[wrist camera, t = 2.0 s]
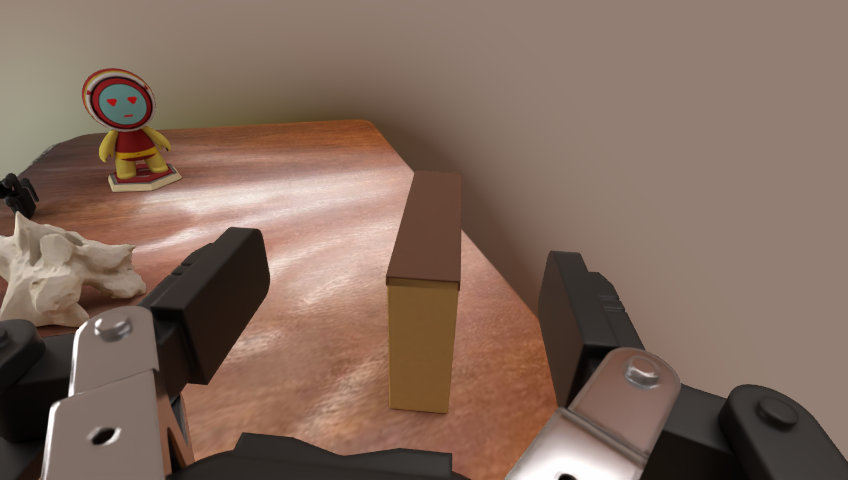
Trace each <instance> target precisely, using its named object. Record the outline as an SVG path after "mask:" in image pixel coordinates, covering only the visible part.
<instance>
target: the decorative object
mask: <svg viewBox="0 0 848 480" xmlns="http://www.w3.org/2000/svg"><path fill="white" fill-rule="evenodd" d="M135 247H136V246H135V245H128V244H124V245H111V246H110V245H105V244H102V243H100V242H97V241H93V240H86V239H85V238H83V237H82V236H80V235H79V234H78V233H77V232H68V231H65V230H63V229H62V228H59V227H53V226H51V225H47V224H45V225H40V224H37V223H35V222H32V221H30V220H28V219H27V218H25V217H24V216H23V215H22V214H21V213H20V212H19V211H17V212H16V217H15V232H14V236H11V237H4V236H0V276H2V277H3V278H4V279H5V280H6V281H7V282H8V283H9V285H8V289H7V293H6V295H5V298H4V300H3V303H2V307H1V310H0V321H5V320H11V319H24V320H28V321H31V322H32V323H33V324H34V325H35V326H43V325H51V324H57V325H62V326H68V327H81V326H82V325H83V324H84V323H85V322H87V321H88V320H89V315H88V314H87V313H86V311H85V310H84V309H83V308H82V307H81V306H80V305H79V304H78V303H77V302H78V301H79V298H80V294H81V291H82V290H81V286H87V285H89V286H92V287H95V288H96V289H97V290H98V291H100V292H101V294H102V295H103V294H104V295H106V296H110V297H111V298H131V297H132V296H134V295H135V294H138V295H142V294H145V293H146V284H145V283H144V282H143V281H142V280H141V276H140V275H138V274H137V273H135V272H134V267H133V265H132V264H131V262H132V260H131V258H132V251H133V249H134V248H135Z"/></svg>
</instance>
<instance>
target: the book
mask: <svg viewBox="0 0 848 480" xmlns="http://www.w3.org/2000/svg"><path fill="white" fill-rule="evenodd" d="M461 213H462V173H448V172H432V171H415V174H414V177H413V181H412V184H411V188H410V191H409V195H408V199H407V202H406V206H405V209H404V213H403V217H402V220H401V224H400V227H399V231H398V235H397V238H396V242H395V245H394V249H393V252H392V256H391V260H390V263H389V267H388V270H387V274H386V286H387V308H388V362H389V407H390V408H393V409H404V410H415V411H426V412H437V413H448V406H449V395H450V384H451V372H452V361H453V350H454V338H455V327H456V315H457V304H458V293H459V290H460V278H461V215H462V214H461Z"/></svg>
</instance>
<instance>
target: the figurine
mask: <svg viewBox="0 0 848 480" xmlns="http://www.w3.org/2000/svg"><path fill="white" fill-rule="evenodd" d="M82 98H83V103H84V106H85V108H86V109H87V111H88V113H89V114H90V115H91V116H92V117H93V118H94V119H95V120H96V121H97V122H98V123H100V124H102V125H103V126H105V127H107V128H110V129H112V130H111V131H110V132H109V133H108V134H107V135H106V137H105V138H104V140H103V142H102V144H101V146H100V149H99V156H100V158H101V160H102V161H103V162H107V159H106V158H107V156H108V155H110V157H114V154H113V151H114V146H115V160H116V170H117V172H115V173H113V174H110V175H109V178H108V181H109V184H110V186H111V189H112V191H113V192H125V191H153V190H155V189H157V188H160V187H162V186H165V185H167V184H169V183H172V182H174V181H177V180H179V179H181V178H182V177H181V175H180V174H179V173H178V172H177V170H176V169H175V168H174V167H173V166H172V165H171V164H167V163H165V161H164V159H163V158H162V156H161V154H160V152H159V151H158V149H157V148H156V146H155V145H154V143H153V142H152V140H153V141H154V142H155V143H156V144H157V146H158V147H159V149H161V150H162V146H163V147H165V148H166V150H167V151H168V152H170V151H171V146H170V143H169V142H168V140H167V139H166V138H165V137H163V136H162V135H161V134H160V133H158V132H157V131H155V130H154V129H152V128H150V127H148V126H146V125H147V124H148V123H149V122H150V121H151V120H152V118H153V116H154V114H155V108H156V103H155V98H154V95H153V93H152V91H151V89H150V87H149V86H148V85H147V84H146V83H145V82H144V81H143V80H142V79H141V78H139V77H138V76H137V75H135V74H133V73H131V72H129V71H126V70H122V69H115V68H110V69H103V70H100V71H97V72H95V73H93V74H92V75H91V76H90V77H88V79H87V80H86V81H85V83H84V86H83V89H82ZM150 138H151V139H152V140H151V139H150ZM143 159H144V161H145V162H146V164H138V165H135V161H137V160H143Z"/></svg>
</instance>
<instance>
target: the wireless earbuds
mask: <svg viewBox="0 0 848 480" xmlns="http://www.w3.org/2000/svg"><path fill="white" fill-rule="evenodd" d="M12 186H13V187H14V189H15V190H13V191H12ZM22 187H25V188H22ZM27 187H28V189H29V191H30V193H31V195H32V197H33V199H34V201H35V202H39V199H38V197H37V194H36V192H35V190H34V188H33V186H32V185H31V183H30V181H29V179H27V178H23V179H21V180H20V182H19V181H18V179H17V177H16V175H15V174H13V173H10V174H8V175H7V176H6V178H5V179H3V180H2V181H0V199H4V198H5V199H4V202H5V204H6V205H7V206H8V207H11V208H12V210H13V212H14V214H15V216H16V212H17V211H19V212H20V213H21V214H22V215H23V216H24V217H25V218H29V217H30V216H31V215H32V214H33V212H34V211H35V209H36V205H35V203H34V201H33V199H32V197H31V195H30V193H29V191H28V189H27Z"/></svg>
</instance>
